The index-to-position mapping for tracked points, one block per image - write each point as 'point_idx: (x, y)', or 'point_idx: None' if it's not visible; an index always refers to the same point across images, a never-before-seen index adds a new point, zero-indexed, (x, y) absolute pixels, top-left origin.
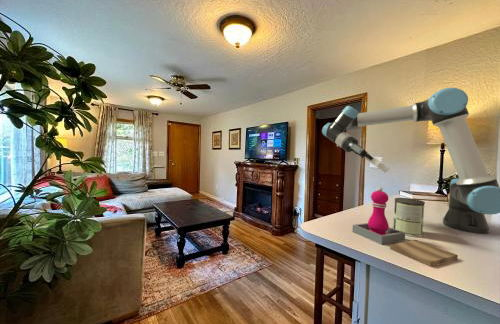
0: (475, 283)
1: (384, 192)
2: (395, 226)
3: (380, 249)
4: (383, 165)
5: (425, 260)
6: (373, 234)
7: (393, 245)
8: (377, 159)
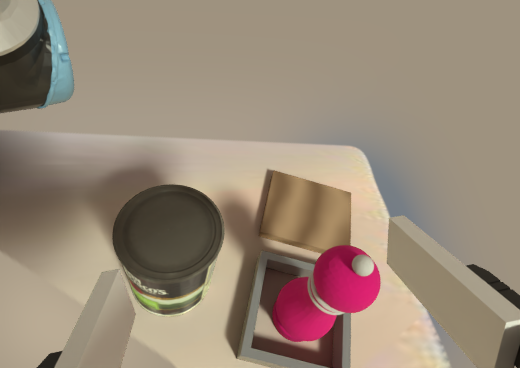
0: (338, 158)
1: (349, 252)
2: (201, 296)
3: None
4: (106, 321)
5: (350, 199)
6: None
7: None
8: (424, 238)
